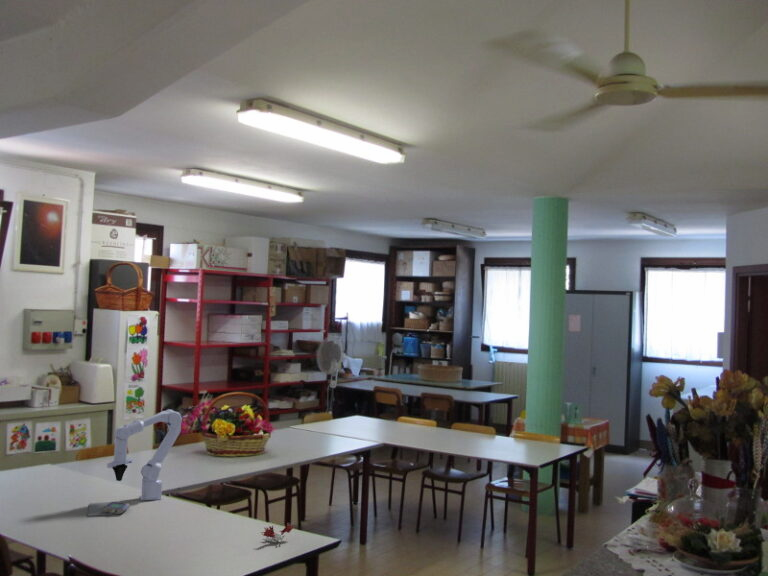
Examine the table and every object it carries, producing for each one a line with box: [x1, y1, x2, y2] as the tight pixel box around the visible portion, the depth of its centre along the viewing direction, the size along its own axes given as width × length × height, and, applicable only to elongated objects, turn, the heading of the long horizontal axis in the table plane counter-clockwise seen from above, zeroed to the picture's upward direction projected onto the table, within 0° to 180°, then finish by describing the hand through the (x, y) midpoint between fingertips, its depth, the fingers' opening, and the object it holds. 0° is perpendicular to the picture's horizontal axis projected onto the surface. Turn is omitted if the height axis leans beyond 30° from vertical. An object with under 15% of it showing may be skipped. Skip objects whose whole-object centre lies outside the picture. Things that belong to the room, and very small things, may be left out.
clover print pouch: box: [104, 501, 131, 515], centre depth 328 cm, size 9×3×11 cm
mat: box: [87, 501, 118, 518], centre depth 332 cm, size 12×20×1 cm, turn 21°
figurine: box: [261, 522, 294, 542], centre depth 297 cm, size 15×12×7 cm
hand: (118, 480), depth 345 cm, fingers closed
